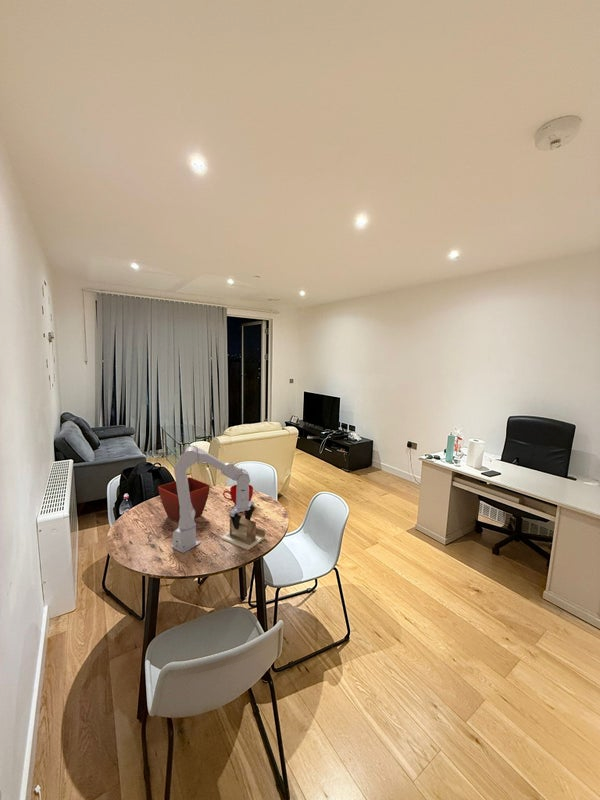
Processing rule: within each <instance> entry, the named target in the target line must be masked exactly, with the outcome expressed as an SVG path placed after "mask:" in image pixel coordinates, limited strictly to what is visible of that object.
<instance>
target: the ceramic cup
mask: <svg viewBox="0 0 600 800" xmlns="http://www.w3.org/2000/svg"><path fill="white" fill-rule="evenodd" d="M253 487H254V486H253V485H250V484H249V501H252V499H253V494H254V488H253ZM236 488H237V484H234V485H232V486H230V488H229V489H230V490H224V491H223V493H222V495H223V497H224V498H225V499H226V500H229V501H232V503H233V504H234V505H235V506H236ZM226 493H229V494H230V497H227V496H226V495H225V494H226Z"/></svg>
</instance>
